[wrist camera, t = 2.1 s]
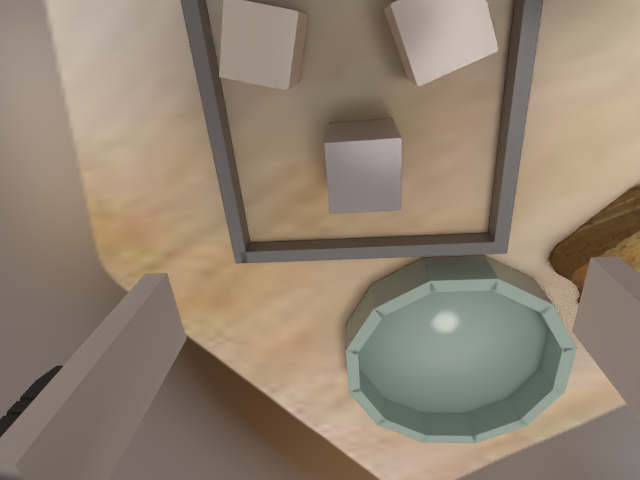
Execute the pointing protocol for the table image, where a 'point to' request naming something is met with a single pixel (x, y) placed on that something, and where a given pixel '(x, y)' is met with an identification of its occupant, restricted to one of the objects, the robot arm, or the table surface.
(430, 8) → the pale grey block
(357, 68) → the table surface
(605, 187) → the table surface
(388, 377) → the bowl
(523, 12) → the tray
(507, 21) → the table surface
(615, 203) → the stone
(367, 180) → the grey square pillar
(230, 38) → the light grey block
